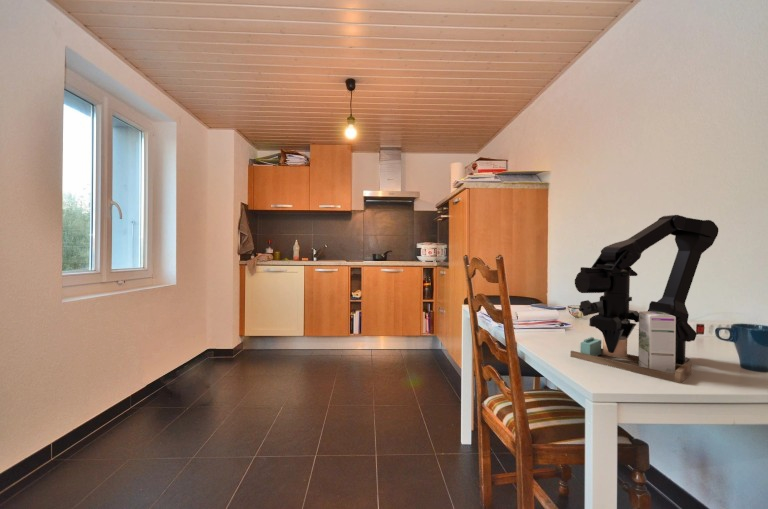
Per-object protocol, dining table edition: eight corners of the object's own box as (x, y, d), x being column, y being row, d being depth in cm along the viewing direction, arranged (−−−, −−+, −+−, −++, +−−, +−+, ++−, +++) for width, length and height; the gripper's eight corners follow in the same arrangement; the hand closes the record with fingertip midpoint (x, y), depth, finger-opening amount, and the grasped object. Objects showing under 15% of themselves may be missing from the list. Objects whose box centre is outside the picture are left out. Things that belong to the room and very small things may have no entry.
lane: (586, 350, 104) (586, 341, 104) (691, 373, 86) (691, 363, 86) (570, 356, 98) (570, 347, 98) (680, 383, 79) (680, 372, 79)
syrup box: (676, 376, 84) (678, 316, 83) (648, 374, 85) (649, 314, 85) (662, 368, 89) (664, 311, 89) (636, 366, 90) (638, 310, 90)
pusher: (592, 351, 102) (592, 336, 102) (601, 353, 100) (601, 337, 100) (580, 356, 97) (580, 340, 97) (589, 359, 95) (589, 342, 95)
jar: (630, 354, 94) (630, 335, 94) (622, 358, 90) (623, 339, 90) (607, 350, 98) (607, 332, 98) (599, 353, 95) (600, 334, 94)
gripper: (597, 287, 106) (596, 338, 106) (569, 292, 94) (568, 349, 95) (641, 291, 97) (640, 347, 97) (616, 296, 85) (614, 360, 86)
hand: (615, 350), depth 94 cm, fingers closed on jar, 5 cm apart
